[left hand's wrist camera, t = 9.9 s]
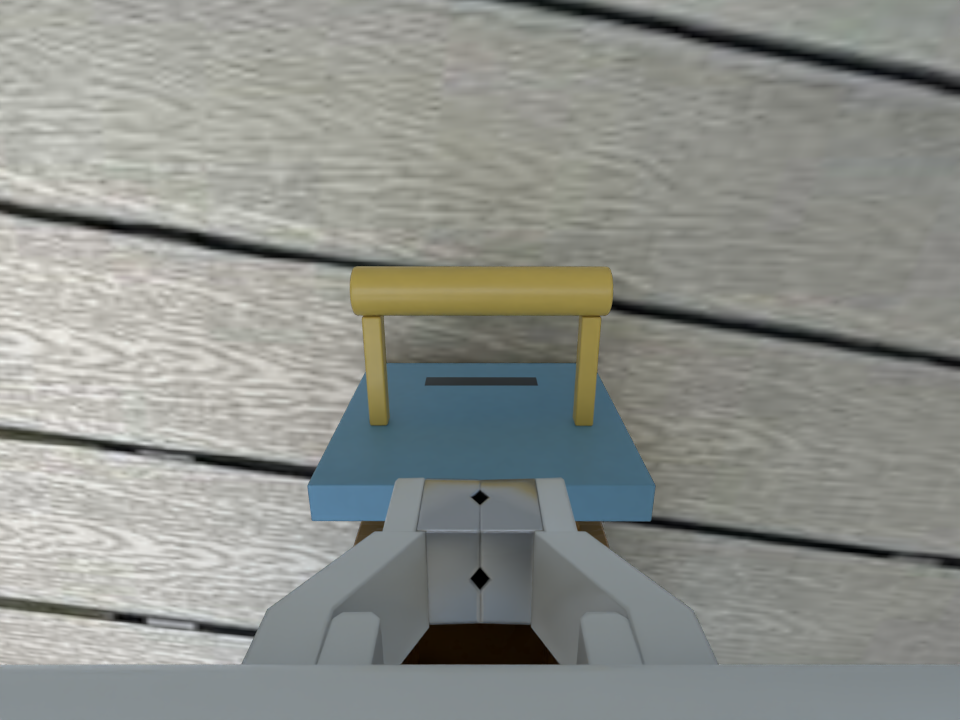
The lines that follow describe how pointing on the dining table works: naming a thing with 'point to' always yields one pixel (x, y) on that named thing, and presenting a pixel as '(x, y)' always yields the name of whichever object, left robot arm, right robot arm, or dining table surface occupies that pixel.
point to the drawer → (481, 422)
